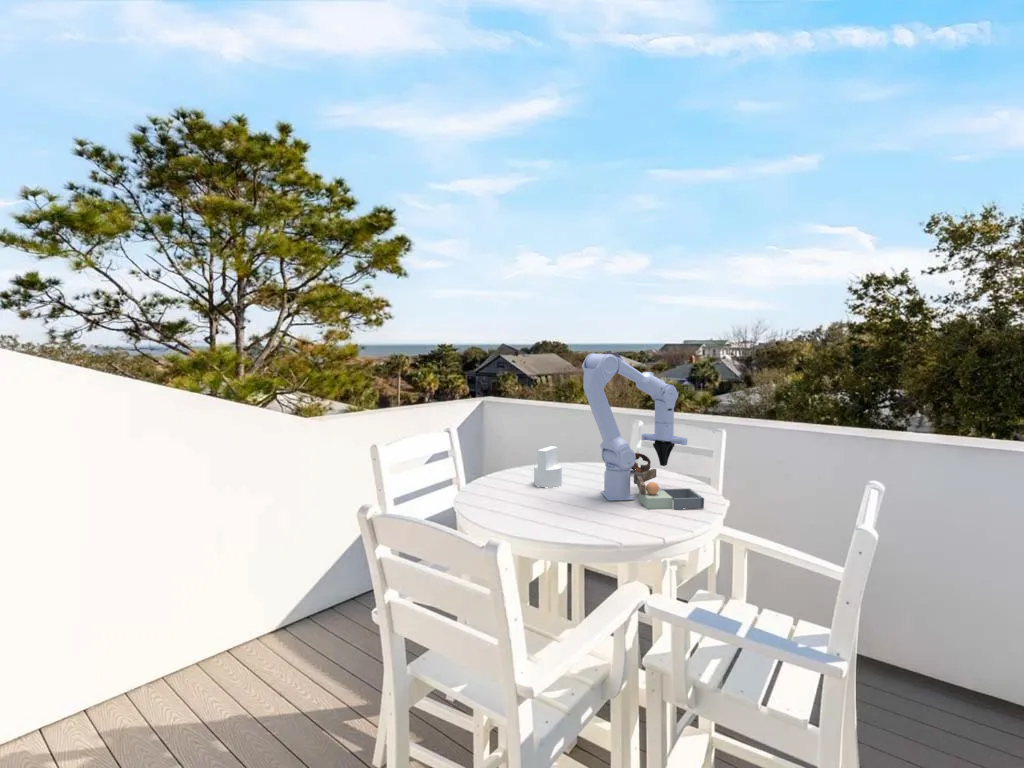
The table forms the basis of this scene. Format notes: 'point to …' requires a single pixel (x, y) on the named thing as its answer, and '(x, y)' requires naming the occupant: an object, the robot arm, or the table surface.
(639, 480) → the flipper lever
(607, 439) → the robot arm
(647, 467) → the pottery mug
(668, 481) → the table surface
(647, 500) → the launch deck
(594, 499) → the table surface
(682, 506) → the tray
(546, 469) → the base with upright slab
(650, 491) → the ball
